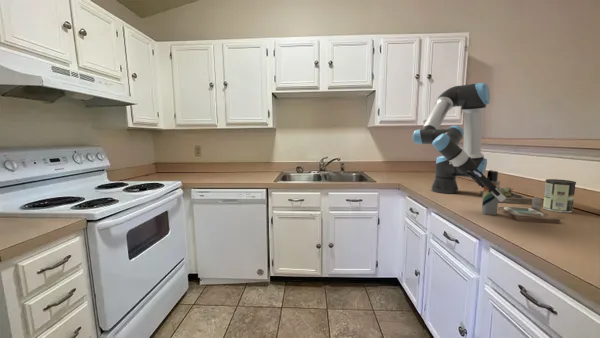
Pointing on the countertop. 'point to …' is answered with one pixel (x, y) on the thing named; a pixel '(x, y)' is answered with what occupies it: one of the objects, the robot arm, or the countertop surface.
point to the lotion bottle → (490, 195)
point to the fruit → (506, 192)
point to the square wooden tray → (515, 199)
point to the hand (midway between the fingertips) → (499, 198)
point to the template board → (529, 213)
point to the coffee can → (559, 195)
